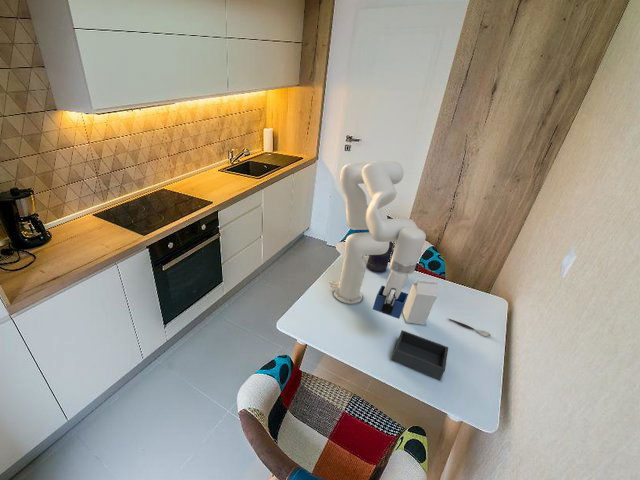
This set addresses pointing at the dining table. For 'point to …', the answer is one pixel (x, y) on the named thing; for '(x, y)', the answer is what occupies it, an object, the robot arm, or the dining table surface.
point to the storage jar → (379, 261)
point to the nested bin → (397, 304)
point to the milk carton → (420, 302)
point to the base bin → (420, 354)
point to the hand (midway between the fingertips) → (388, 306)
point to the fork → (470, 328)
